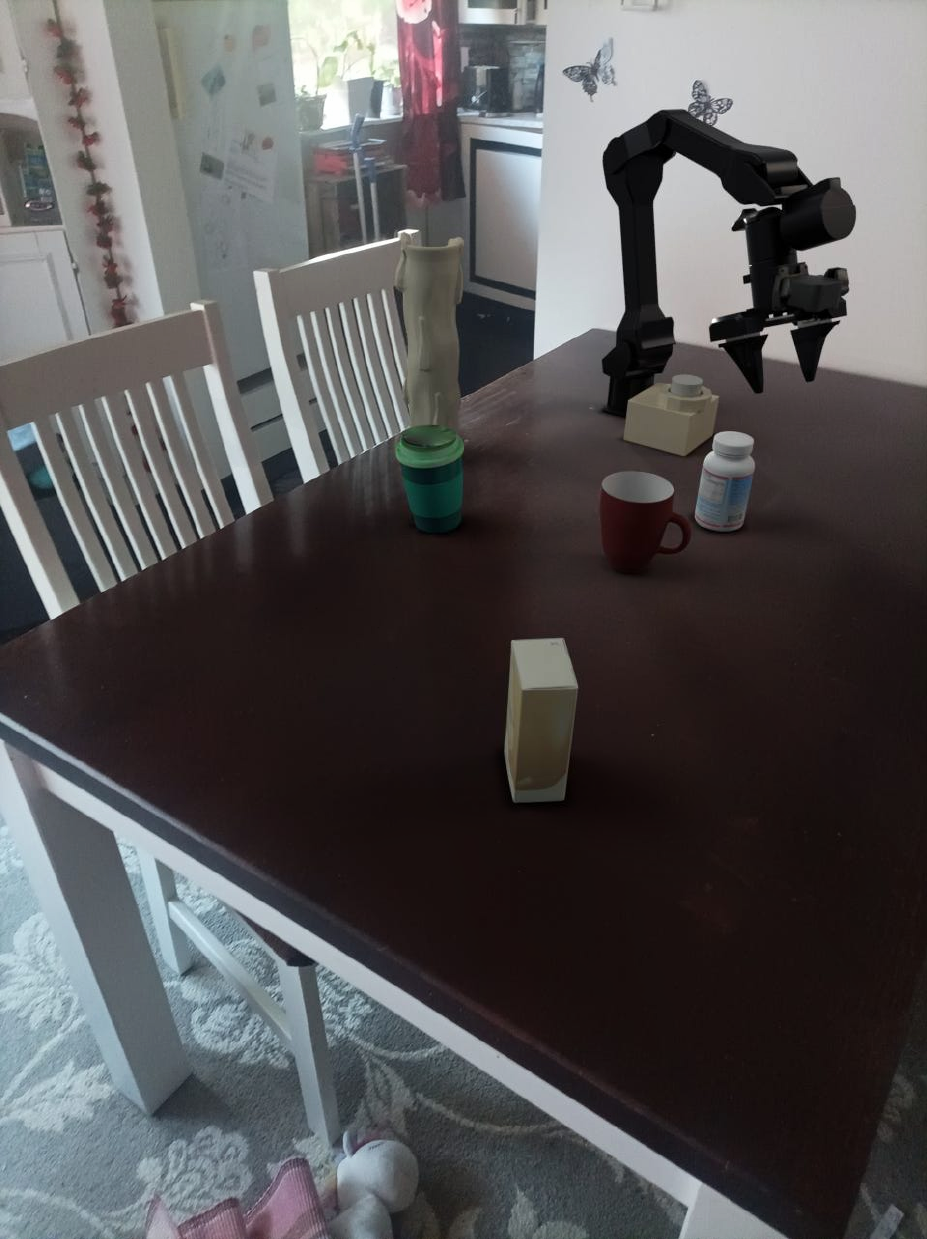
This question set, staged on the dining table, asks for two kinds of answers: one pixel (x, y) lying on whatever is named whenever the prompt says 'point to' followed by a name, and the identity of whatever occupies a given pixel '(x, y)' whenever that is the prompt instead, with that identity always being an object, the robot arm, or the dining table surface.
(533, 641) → the cosmetic box
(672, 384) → the cylinder
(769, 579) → the dining table surface
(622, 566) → the mug
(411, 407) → the vase
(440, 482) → the cup
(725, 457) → the pill bottle
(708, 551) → the dining table surface
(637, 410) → the block
